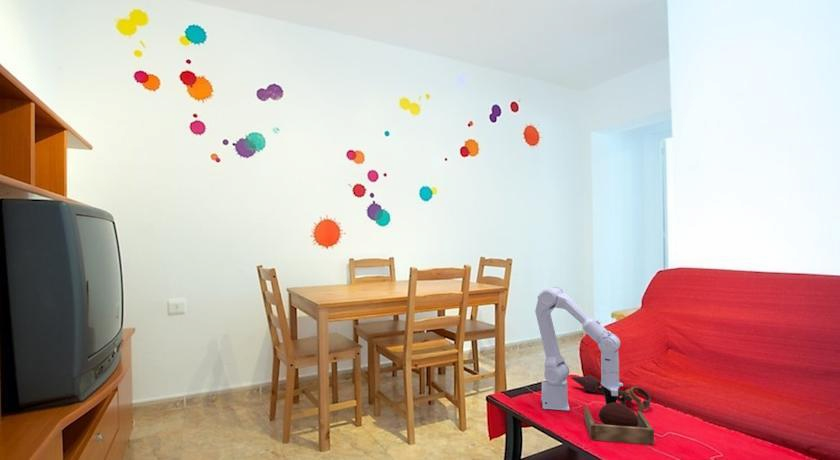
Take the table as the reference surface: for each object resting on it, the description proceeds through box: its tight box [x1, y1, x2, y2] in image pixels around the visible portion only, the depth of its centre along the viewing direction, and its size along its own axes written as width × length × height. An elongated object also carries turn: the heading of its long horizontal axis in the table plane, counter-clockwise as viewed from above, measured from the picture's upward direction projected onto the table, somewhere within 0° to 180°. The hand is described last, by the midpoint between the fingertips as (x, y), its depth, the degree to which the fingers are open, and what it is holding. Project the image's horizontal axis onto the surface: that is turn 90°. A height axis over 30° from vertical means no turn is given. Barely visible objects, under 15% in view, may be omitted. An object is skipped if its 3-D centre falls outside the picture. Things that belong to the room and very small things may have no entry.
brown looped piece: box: [617, 386, 652, 413], centre depth 160 cm, size 12×10×8 cm
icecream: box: [571, 374, 604, 395], centre depth 176 cm, size 7×7×15 cm
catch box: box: [583, 407, 655, 446], centre depth 140 cm, size 18×14×4 cm
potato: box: [598, 402, 639, 427], centre depth 141 cm, size 9×12×9 cm
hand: (610, 409), depth 150 cm, fingers closed
